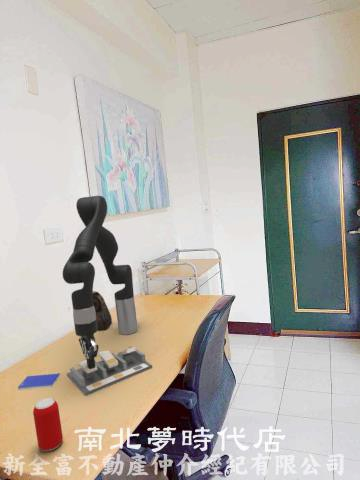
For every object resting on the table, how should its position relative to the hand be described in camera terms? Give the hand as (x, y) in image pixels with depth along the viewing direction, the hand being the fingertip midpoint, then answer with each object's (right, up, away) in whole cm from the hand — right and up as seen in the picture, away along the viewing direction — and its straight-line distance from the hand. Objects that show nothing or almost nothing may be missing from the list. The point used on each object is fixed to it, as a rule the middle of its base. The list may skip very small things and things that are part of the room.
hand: (91, 367), depth 121 cm
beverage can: (-3, -10, -29) cm, 31 cm away
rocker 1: (-2, -2, +4) cm, 5 cm away
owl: (-10, -1, +61) cm, 61 cm away
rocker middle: (+4, 0, +8) cm, 9 cm away
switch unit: (+5, -5, +9) cm, 11 cm away
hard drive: (-21, -8, +6) cm, 23 cm away
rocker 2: (+11, +1, +13) cm, 17 cm away
